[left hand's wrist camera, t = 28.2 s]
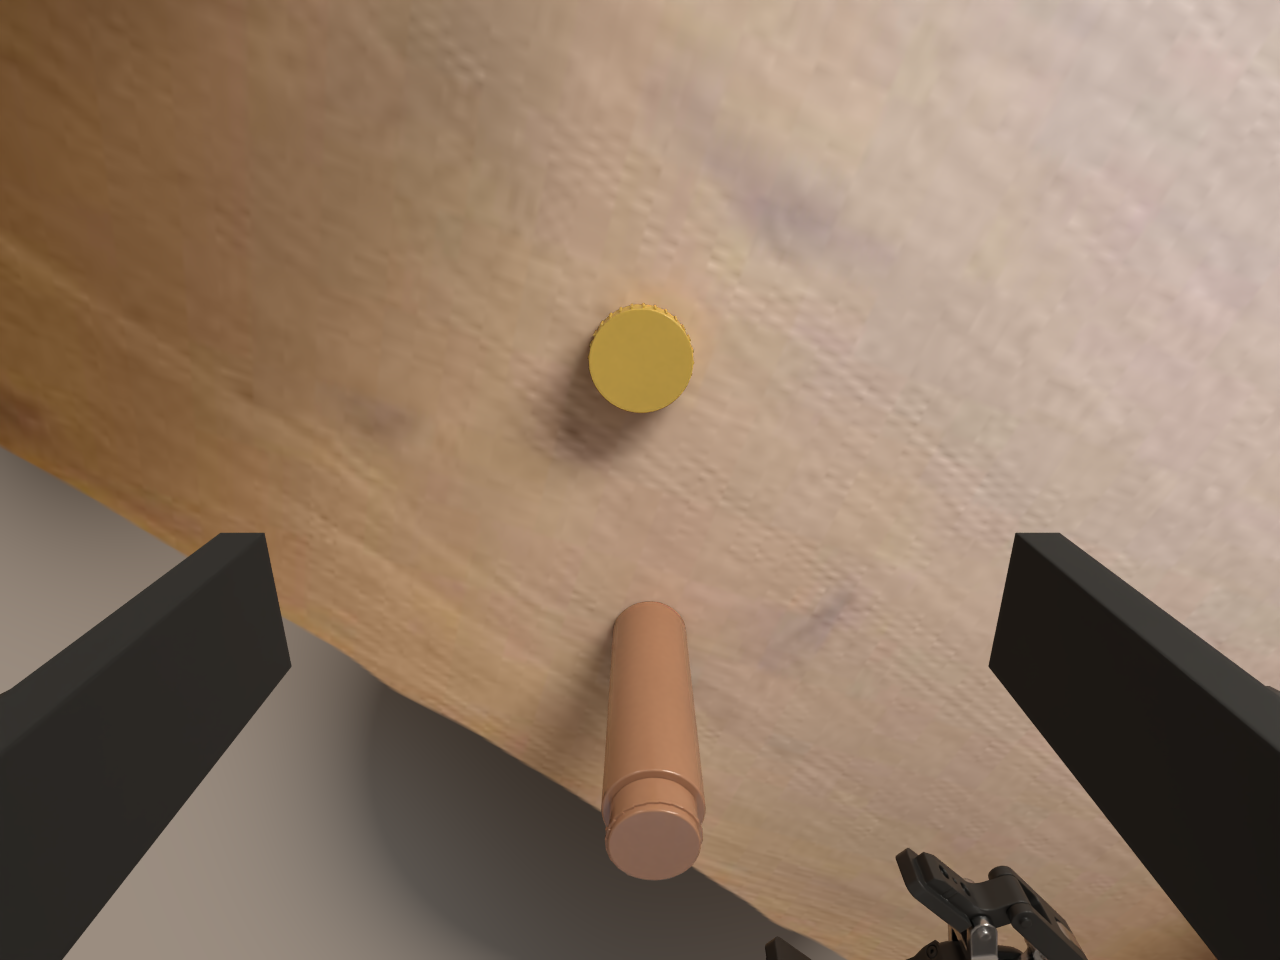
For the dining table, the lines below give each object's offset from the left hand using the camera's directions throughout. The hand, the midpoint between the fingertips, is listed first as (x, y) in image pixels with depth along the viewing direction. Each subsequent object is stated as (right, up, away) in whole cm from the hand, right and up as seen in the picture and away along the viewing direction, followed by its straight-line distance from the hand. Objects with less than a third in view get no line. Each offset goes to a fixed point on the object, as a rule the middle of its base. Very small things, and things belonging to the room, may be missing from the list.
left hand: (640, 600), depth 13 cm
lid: (0, +8, +23) cm, 25 cm away
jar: (+1, -7, +31) cm, 31 cm away
